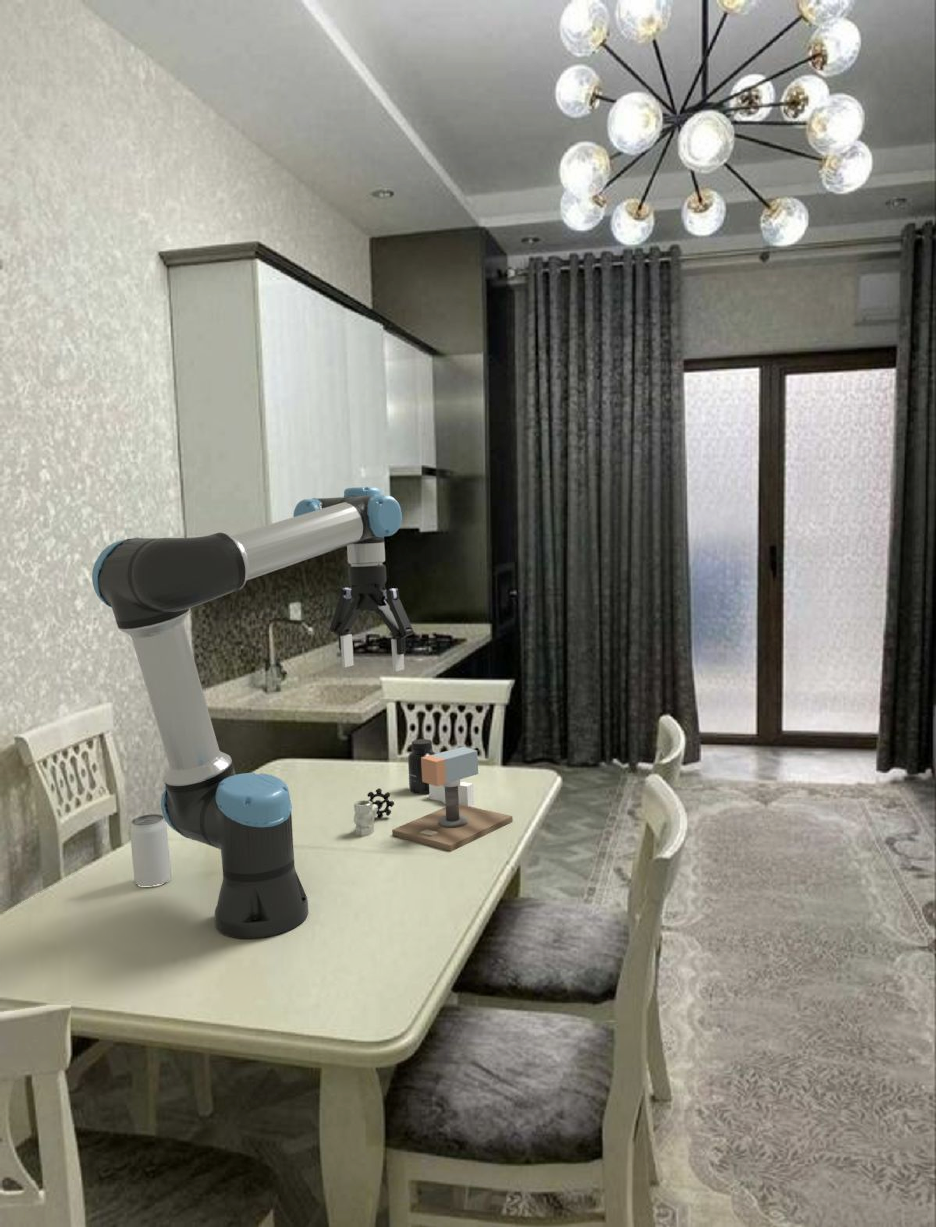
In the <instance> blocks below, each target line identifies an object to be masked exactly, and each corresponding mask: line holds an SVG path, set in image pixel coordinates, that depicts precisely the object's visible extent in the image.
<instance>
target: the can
mask: <svg viewBox="0 0 936 1227" xmlns="http://www.w3.org/2000/svg"><path fill="white" fill-rule="evenodd" d="M167 825H168V823H167V822H166V820H165V818H164V816H163V814H158V813H153V814H145V815H141V816H137V817H135V818H133V819H132V820H131V827H130V829H129V833H130V835H129V836H130V846H131V858H132V867H133V868H132V870H133V880H134V884H135V885H136V884H137V885H140V886H153V885H157V884H162V883H165V882H167V881H168V880H169V879H170V880H171V878H172V869H171V868H172V867H171V860H170V859H171V857H170V845H169V837H168V836H169V835H168V834H169V833H168V826H167ZM170 880H169V881H170ZM169 881H168V882H169ZM168 882H167V883H168ZM165 884H166V883H165ZM137 885H136V886H137Z"/></svg>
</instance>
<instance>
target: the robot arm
mask: <svg viewBox="0 0 936 1227" xmlns="http://www.w3.org/2000/svg"><path fill="white" fill-rule="evenodd" d="M402 521H403V514H402V509H401V505H400V504H399V502H398V500H396V499H395V498H394V497H393V496H392V495H388V494H382V492H381V490H380V488H378V487H376V486H365V487H364V486H363V487H347V488H345V489H344V491H343V497H342V496H341V497H340V496H339V497H328V498H327V497H326V498H325V497H324V498H323V497H322V498H321V497H319V498H317V497H312V498H307V499H301V500H300V501H299V502H298V503H297V504H296V506H295V507H294V510H293V516H292V517H290V518H287V519H286V518H285V519H282V520H279V521H276V522H273V523H270V524H266V525H263V526H260V527H259V526H258V527H256V528H253V529H252V528H251V529H249V530H246V531H242V532H238V533H236V534H233V535H232V534H231V535H230V534H228V533H227V532H224V531H223V532H222V531H221V532H220V531H219V532H217V533H213V534H210V535H204V536H196V537H159V538H158V537H156V538H154V537H153V538H152V537H151V538H150V537H148V538H146V537H136V536H135V537H133V538H126V539H122V540H118V541H115V542H113V543H110V544H109V545H108V546H107V547H105V548H104V549H103V550H101V552H100V554H98V557H97V559H96V560H95V562H94V565H93V566H92V567H93V568H92V573H91V580H92V581H91V583H92V587H93V590H94V592H95V594H96V596H97V597H98V599H99V600H100V601H101V602H103V603H104V604H105V605H106V606H107V607H110V608H111V609H112V613H113V617H114V619H115V622H116V625H117V629H118V630H119V631H121V632H122V633H125V634H126V635H129V636H130V638H131V641H132V644H133V648H134V651H135V654H136V657H137V658H136V659H137V662H138V664H139V669H140V671H141V674H142V678H143V682H144V684H145V687H146V691H147V694H148V697H149V701H150V705H151V708H152V712H153V714H154V715H153V716H154V719H155V721H156V726H157V728H158V732H159V735H160V739H161V742H162V745H163V748H164V752H165V755H166V758H167V763H168V766H169V767H168V769H167V770H166V771H165V773H164V775H163V781H164V785H165V786H164V791H163V793H162V794H161V798H160V806H161V807H160V809H161V812H162V816H163V817H164V818H163V819H164V821H165V822H166V824H167V825H168V826H169V827H170V828H171V829H172V830H173V831H175V832H177V833H178V834H179V835H180V836H182V837H184V838H186V839H190V840H192V841H197V842H200V843H202V844H205V845H208V846H209V847H210V846H211V847H213V848H216V849H218V850H220V855H221V865H222V866H221V868H222V869H221V870H222V882H221V885H220V890H219V894H218V899H217V904H216V906H215V910H214V917H215V918H214V919H215V920H214V922H215V923H214V924H215V927H216V930H217V931H218V932H219V933H221V934H222V935H225V936H228V937H230V938H231V937H232V938H237V939H258V938H266V937H270V936H271V937H272V936H276V935H279V934H282V933H285V932H287V931H290V930H293V929H294V928H297V927H298V926H299V925H301V924H302V923H303V922H305V920H306V919H307V917H308V916H309V902H308V901H309V900H308V896H307V894H306V892H305V889H304V887H303V885H302V882H301V879H300V877H299V875H298V872H297V870H296V867H295V854H294V853H295V852H294V837H293V835H294V834H293V816H292V808H293V807H292V806H293V805H292V801H291V797H290V796H291V795H290V791H289V787H288V786H287V784H286V783H285V781H283V780H282V779H281V778H279V777H277V776H274V775H272V774H267V773H263V772H261V773H255V772H246V773H243V772H242V773H238V774H236V771H235V767H234V763H233V760H232V757H231V755H229V754H227V753H225V752H224V751H223V752H222V751H221V750H220V747H219V744H218V741H217V737H216V733H215V730H214V726H213V723H212V718H211V715H210V712H209V708H208V705H207V701H206V698H205V694H204V690H203V687H202V683H201V680H200V676H199V672H198V668H197V665H196V662H195V657H194V655H193V651H192V647H191V645H190V640H189V637H188V634H187V633H188V632H187V629H186V627H185V626H186V625H185V620H186V618H187V617H188V615H189V614H190V612H191V608H194V607H197V606H200V605H203V604H205V603H208V602H210V601H213V600H216V599H219V598H221V597H223V596H226V595H228V594H231V593H234V592H238V591H239V590H242V588H244V587H245V585H246V582H247V581H249V580H252V579H256V578H258V577H260V576H261V577H262V576H264V575H266V574H269V573H272V572H275V571H277V570H280V569H284V568H287V567H289V566H291V565H295V564H298V563H300V562H303V561H306V560H309V559H312V558H315V557H318V556H322V555H324V554H327V553H330V552H333V551H336V550H338V549H341V548H344V547H346V548H347V551H346V552H347V563H348V564H350V566H349V567H348V569H347V570H348V582H349V585H351V587H349V586H348V587H342V588H339V590H338V591H339V593H338V594H339V595H338V597H339V598H338V602H337V605H336V608H335V610H334V611H335V612H334V614H333V618H332V621H331V623H330V628H329V630H330V632H331V633H334V634H336V635H337V637H338V638H337V639H338V649H339V651H340V653H341V666H342V667H341V668H348V667H352V666H354V665H355V664H354V646H353V644H354V643H353V634H351V632H350V631H351V629H352V627H353V626H354V624H355V623H356V621H357V619H358V618H359V617H360V614H361V613H362V612H364V611H368V612H375V613H376V614H378V615H379V617H380V618H381V620H382V621H383V623H384V624H385V626H386V627H387V629H388V630H389V631H390V633H391V634H392V636H393V638H391V639H390V641H391V643H390V644H391V655H392V656H391V657H392V672H393V673H394V672H400V671H404V670H405V657H404V656H405V654H406V652H407V648H406V646H407V643H406V638H407V637H408V636H411V635H413V634H414V632H415V631H414V629H413V627H412V624H411V622H410V620H409V618H408V614H407V613H406V610H405V609H404V608H405V607H404V606H403V603H402V601H401V599H400V592H399V589H398V588H397V587H394V588H388V589H386V583H387V568H386V565H385V564H383V563H384V562H386V549H385V537H391V536H393V535H394V534H396V533H397V532H398V530H399V529H400V527H401V525H402ZM352 599H353V600H352Z"/></svg>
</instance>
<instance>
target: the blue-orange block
mask: <svg viewBox="0 0 936 1227" xmlns="http://www.w3.org/2000/svg"><path fill="white" fill-rule="evenodd" d="M421 765H422V782H425V783H428V784H431V785H434V786H441V785H442V786H445V787H455V786H459V785H460V782H461V780H463V779H466V778H469V777H473V776H477V775H479V758H478V750H476V749H472V748H469V747H465V746H461V747H456V748H453V749H450V750H446V751H442V752H438V753H435V754H434V755H429V756H425V757H421Z"/></svg>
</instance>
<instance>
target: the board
mask: <svg viewBox="0 0 936 1227" xmlns="http://www.w3.org/2000/svg"><path fill="white" fill-rule="evenodd" d="M444 804H445V805H444V806H445V807H443V808H441V809H438V810H435V811H433V812H431V813H429V814H426V815H424V816H421V817H420V818H417V819H414V820H411V821H409V822H407V823H405V824H403V825H399V826H397V827H395V828H393V829H391V833H392V834H391V835H392V836H394V837H396V838H401V839H405V840H408V841H412V842H416V843H419V844H423V845H427V846H430V847H434V848H438V849H442V850H446V851H449V852H452V851H455V850H457V849H459V848H460V847H463V846H466V845H467V844H469V843H471V842H473V841H475V840H477V839H479V838H481V837H484V836H486V835H487V834H490V833H492V832H495V830H497V829H498V830H499V829H500V828H502V827H504V826H507V825H509V824H511V823H513V821H514V820H513V815H509V814H505V813H501V812H496V811H492V810H488V809H487V810H486V809H482V808H478V807H474V806H466V805H461V804H459V797H458V786H455V787H445V803H444Z"/></svg>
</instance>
